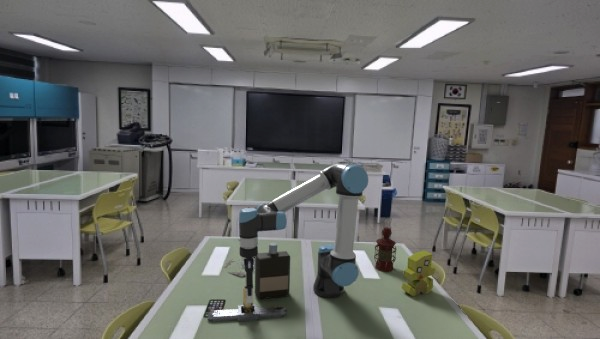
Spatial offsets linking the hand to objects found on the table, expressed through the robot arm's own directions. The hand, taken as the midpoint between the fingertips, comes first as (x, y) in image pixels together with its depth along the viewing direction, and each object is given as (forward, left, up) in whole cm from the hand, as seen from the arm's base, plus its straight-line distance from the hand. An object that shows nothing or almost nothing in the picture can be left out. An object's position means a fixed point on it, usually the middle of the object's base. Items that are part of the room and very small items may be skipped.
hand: (249, 294), depth 154 cm
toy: (-84, -13, -10) cm, 85 cm away
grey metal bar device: (0, 0, -10) cm, 10 cm away
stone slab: (-3, -57, -10) cm, 58 cm away
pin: (0, 0, -10) cm, 10 cm away
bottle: (-12, -18, -10) cm, 23 cm away
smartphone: (+14, -8, -10) cm, 19 cm away
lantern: (-79, -43, -10) cm, 90 cm away
